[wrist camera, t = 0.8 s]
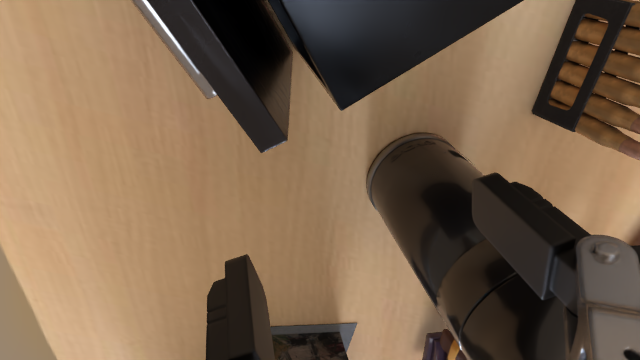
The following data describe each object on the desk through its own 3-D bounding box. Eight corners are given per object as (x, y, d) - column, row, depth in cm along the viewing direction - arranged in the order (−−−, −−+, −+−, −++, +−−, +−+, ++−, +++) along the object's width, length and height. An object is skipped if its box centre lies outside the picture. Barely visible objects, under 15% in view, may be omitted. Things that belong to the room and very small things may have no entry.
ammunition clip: (547, 113, 38) (664, 174, 28) (531, 113, 38) (644, 174, 28) (597, -7, 33) (764, 16, 23) (579, -9, 32) (741, 13, 22)
